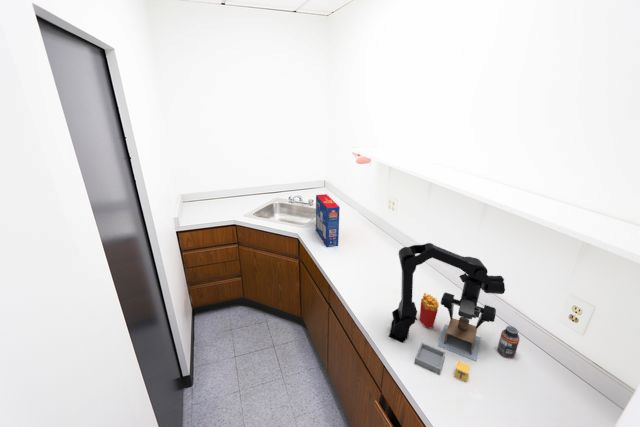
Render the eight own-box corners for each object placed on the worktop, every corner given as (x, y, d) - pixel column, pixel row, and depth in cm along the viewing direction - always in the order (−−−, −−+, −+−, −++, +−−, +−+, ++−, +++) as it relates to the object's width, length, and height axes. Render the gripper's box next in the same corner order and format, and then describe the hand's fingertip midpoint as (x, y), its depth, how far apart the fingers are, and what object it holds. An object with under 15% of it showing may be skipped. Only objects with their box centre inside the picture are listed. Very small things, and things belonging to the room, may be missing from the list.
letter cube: (453, 377, 104) (455, 368, 103) (455, 368, 107) (457, 360, 106) (466, 382, 102) (468, 374, 101) (467, 373, 105) (469, 365, 104)
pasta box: (338, 246, 197) (339, 206, 187) (326, 247, 195) (327, 207, 185) (326, 229, 222) (326, 194, 212) (315, 230, 220) (316, 195, 210)
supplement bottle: (508, 346, 117) (515, 323, 113) (518, 358, 112) (525, 335, 108) (493, 346, 117) (499, 323, 113) (502, 358, 111) (509, 335, 107)
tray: (414, 363, 109) (415, 358, 108) (420, 347, 116) (421, 342, 115) (439, 374, 105) (440, 369, 104) (444, 357, 112) (445, 352, 111)
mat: (437, 345, 117) (437, 345, 117) (444, 324, 128) (444, 324, 128) (476, 361, 110) (476, 360, 110) (480, 337, 121) (480, 337, 121)
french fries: (416, 316, 133) (420, 292, 128) (424, 314, 134) (428, 291, 129) (428, 331, 125) (433, 305, 120) (437, 329, 126) (442, 304, 121)
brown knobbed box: (443, 343, 118) (448, 324, 114) (448, 328, 126) (452, 309, 122) (471, 354, 113) (476, 334, 109) (474, 338, 121) (479, 318, 117)
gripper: (440, 293, 110) (434, 326, 115) (498, 311, 100) (488, 346, 106) (446, 279, 118) (440, 310, 124) (499, 294, 109) (490, 328, 115)
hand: (463, 323), depth 117 cm, fingers open, 9 cm apart
